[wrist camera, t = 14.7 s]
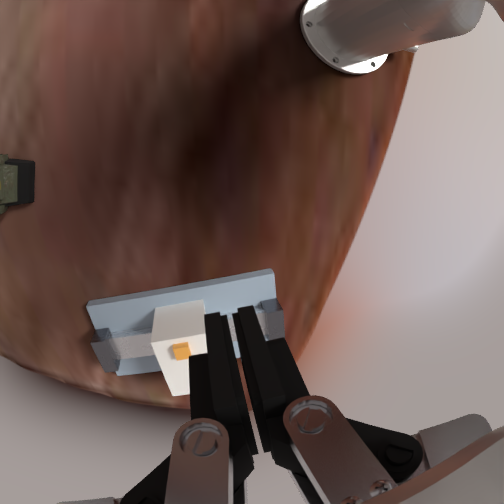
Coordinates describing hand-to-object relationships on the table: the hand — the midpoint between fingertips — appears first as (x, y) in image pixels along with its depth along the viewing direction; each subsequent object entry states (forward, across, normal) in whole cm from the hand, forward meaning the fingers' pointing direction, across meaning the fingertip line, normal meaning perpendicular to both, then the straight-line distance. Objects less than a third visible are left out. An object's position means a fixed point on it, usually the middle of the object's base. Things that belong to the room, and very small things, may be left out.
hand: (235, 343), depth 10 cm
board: (+24, +6, +16) cm, 30 cm away
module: (+23, +6, +16) cm, 28 cm away
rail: (+23, +6, +16) cm, 29 cm away
